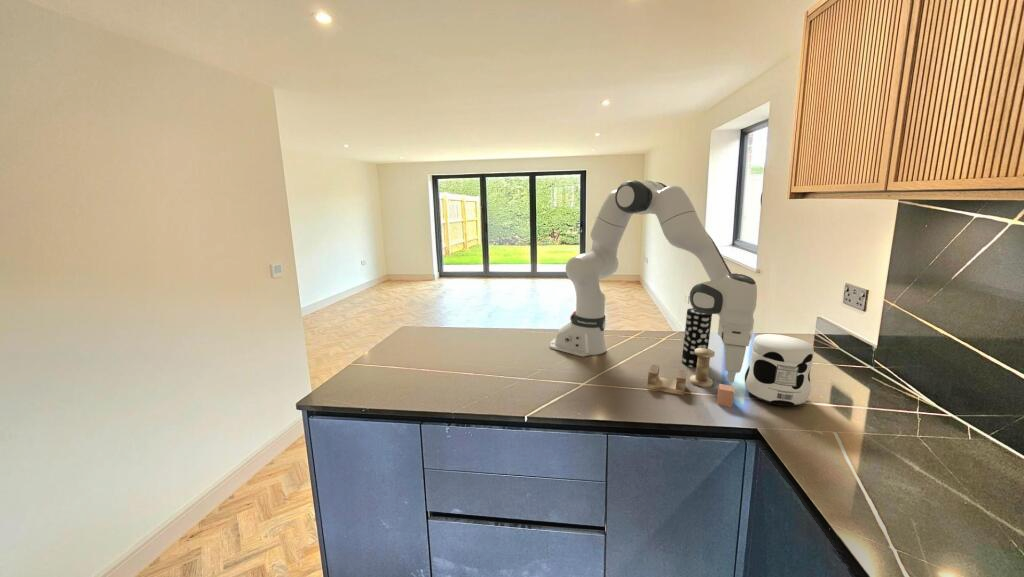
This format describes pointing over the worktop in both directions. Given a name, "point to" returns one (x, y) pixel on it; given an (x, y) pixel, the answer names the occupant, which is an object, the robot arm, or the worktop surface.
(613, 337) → the worktop surface
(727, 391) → the orange block
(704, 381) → the bobbin
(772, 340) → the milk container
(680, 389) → the notched board
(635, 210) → the robot arm
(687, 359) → the white-spotted black cylinder
